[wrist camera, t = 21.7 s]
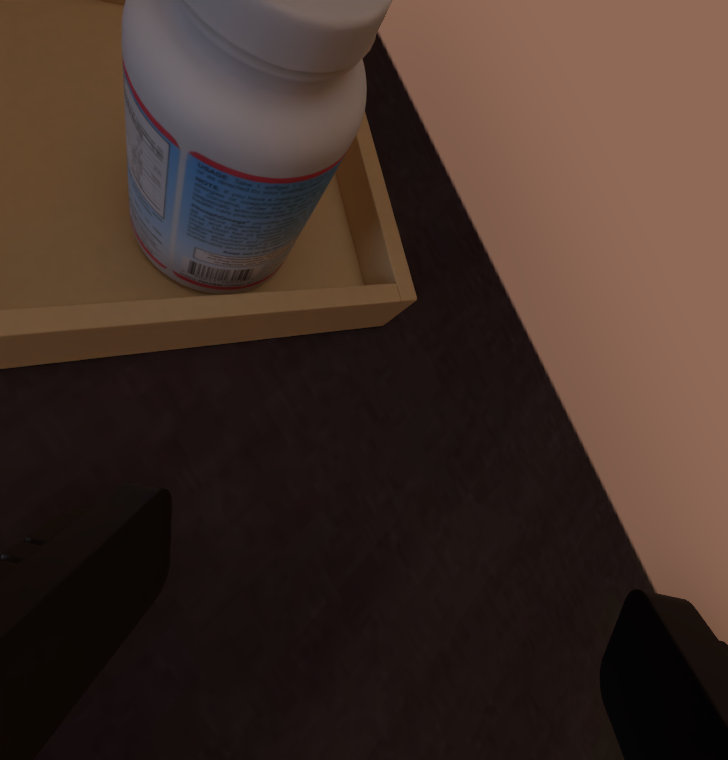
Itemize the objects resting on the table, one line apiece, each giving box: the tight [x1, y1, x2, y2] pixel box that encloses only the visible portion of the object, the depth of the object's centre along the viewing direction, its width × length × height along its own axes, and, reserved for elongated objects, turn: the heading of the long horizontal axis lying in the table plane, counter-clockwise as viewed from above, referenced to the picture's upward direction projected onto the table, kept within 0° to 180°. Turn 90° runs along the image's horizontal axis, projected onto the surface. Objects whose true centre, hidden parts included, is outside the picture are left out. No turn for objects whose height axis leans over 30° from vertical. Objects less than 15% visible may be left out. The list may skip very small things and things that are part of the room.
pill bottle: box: [121, 0, 392, 294], centre depth 14 cm, size 6×6×11 cm
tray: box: [0, 0, 417, 369], centre depth 18 cm, size 18×16×3 cm
